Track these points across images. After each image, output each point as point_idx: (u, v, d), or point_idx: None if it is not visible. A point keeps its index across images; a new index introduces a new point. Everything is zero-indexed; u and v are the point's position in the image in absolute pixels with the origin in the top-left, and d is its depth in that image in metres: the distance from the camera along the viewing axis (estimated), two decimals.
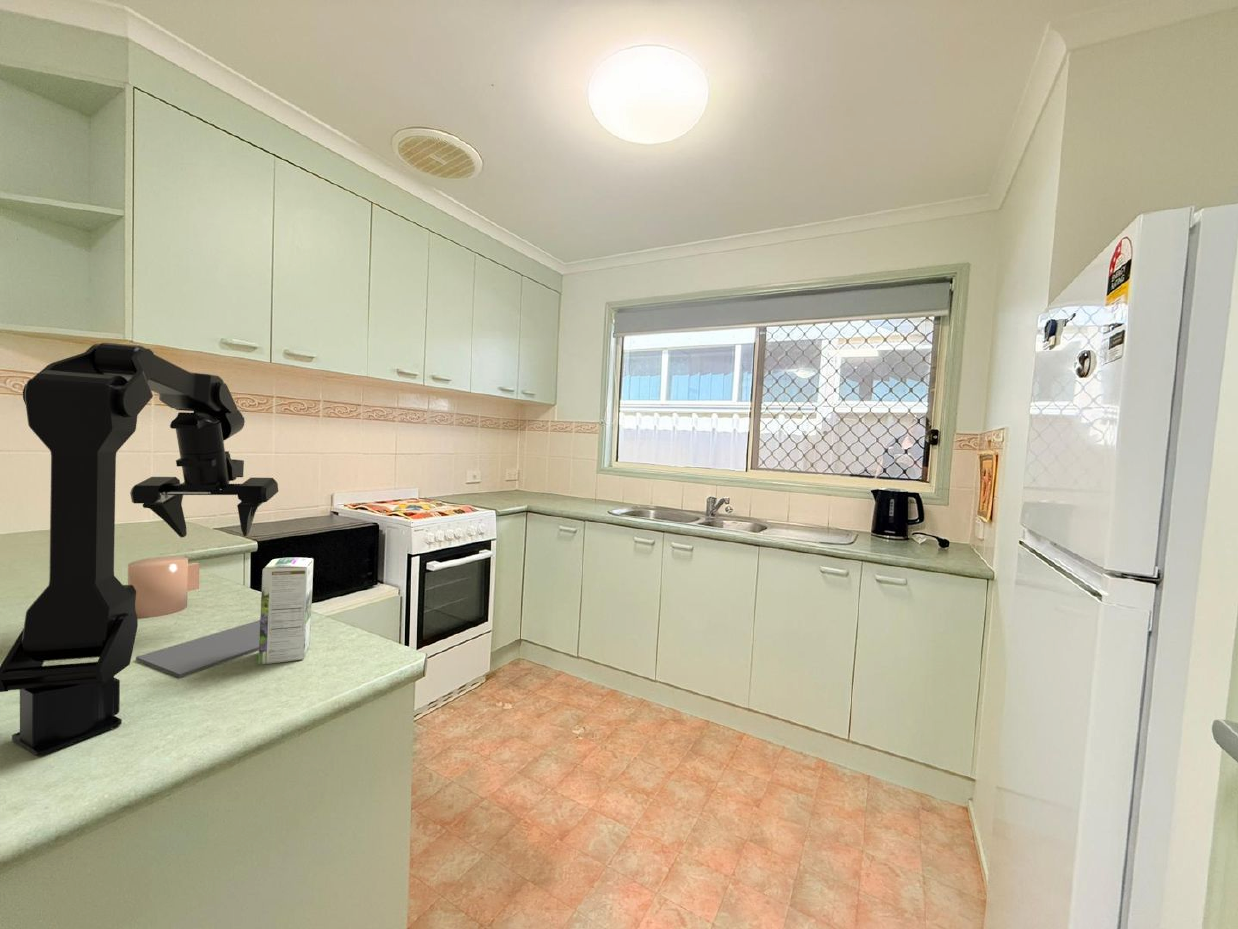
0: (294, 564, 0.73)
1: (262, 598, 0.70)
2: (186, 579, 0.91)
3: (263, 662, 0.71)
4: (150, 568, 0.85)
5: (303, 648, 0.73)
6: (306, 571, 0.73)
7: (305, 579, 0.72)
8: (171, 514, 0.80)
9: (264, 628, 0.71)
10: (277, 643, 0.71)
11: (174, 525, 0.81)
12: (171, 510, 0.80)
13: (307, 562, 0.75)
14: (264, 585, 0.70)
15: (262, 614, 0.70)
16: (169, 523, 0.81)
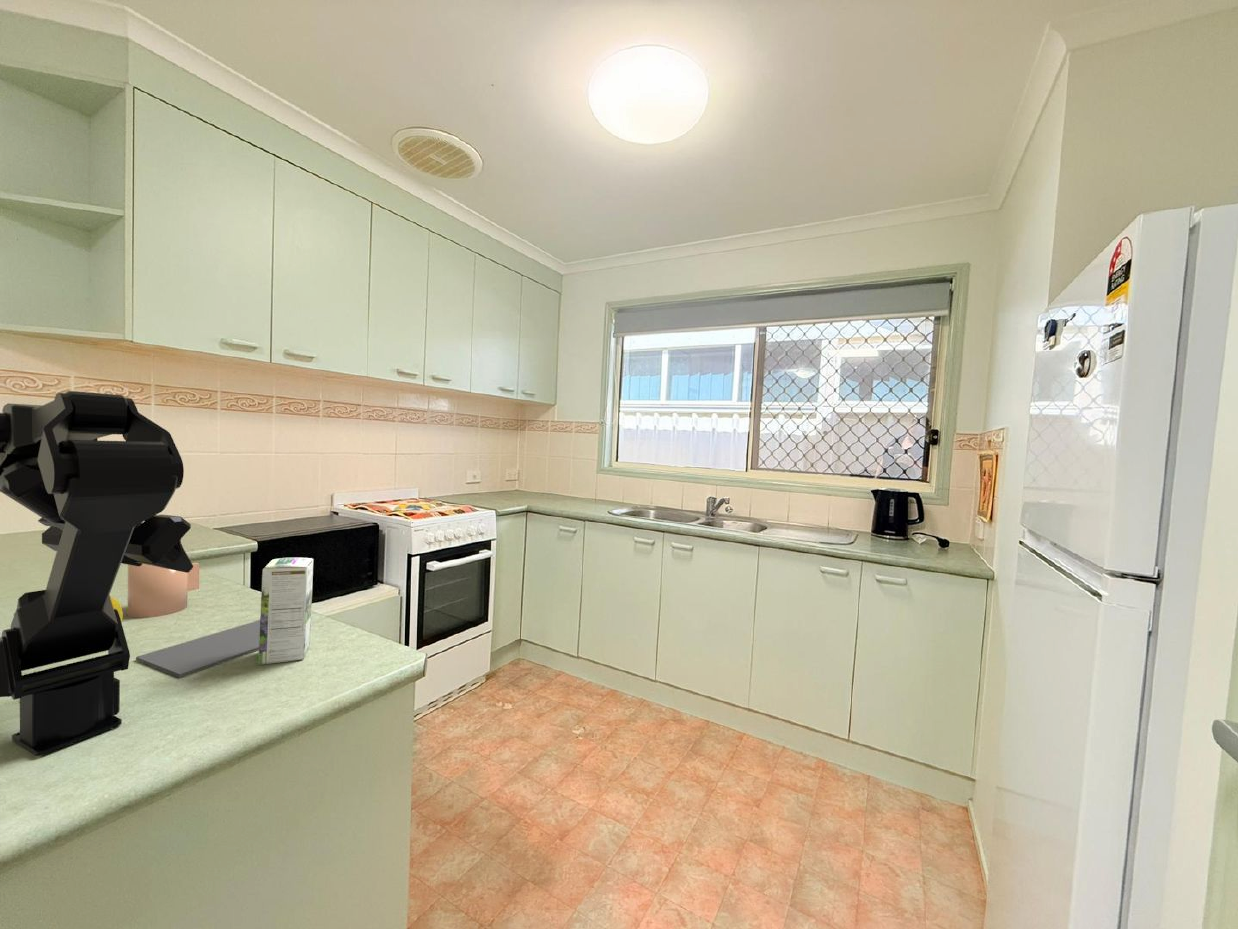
0: (294, 564, 0.73)
1: (262, 598, 0.70)
2: (186, 579, 0.91)
3: (263, 662, 0.71)
4: (150, 568, 0.85)
5: (303, 648, 0.73)
6: (306, 571, 0.73)
7: (305, 579, 0.72)
8: None
9: (264, 628, 0.71)
10: (277, 643, 0.71)
11: None
12: None
13: (307, 562, 0.75)
14: (264, 585, 0.70)
15: (262, 614, 0.70)
16: None
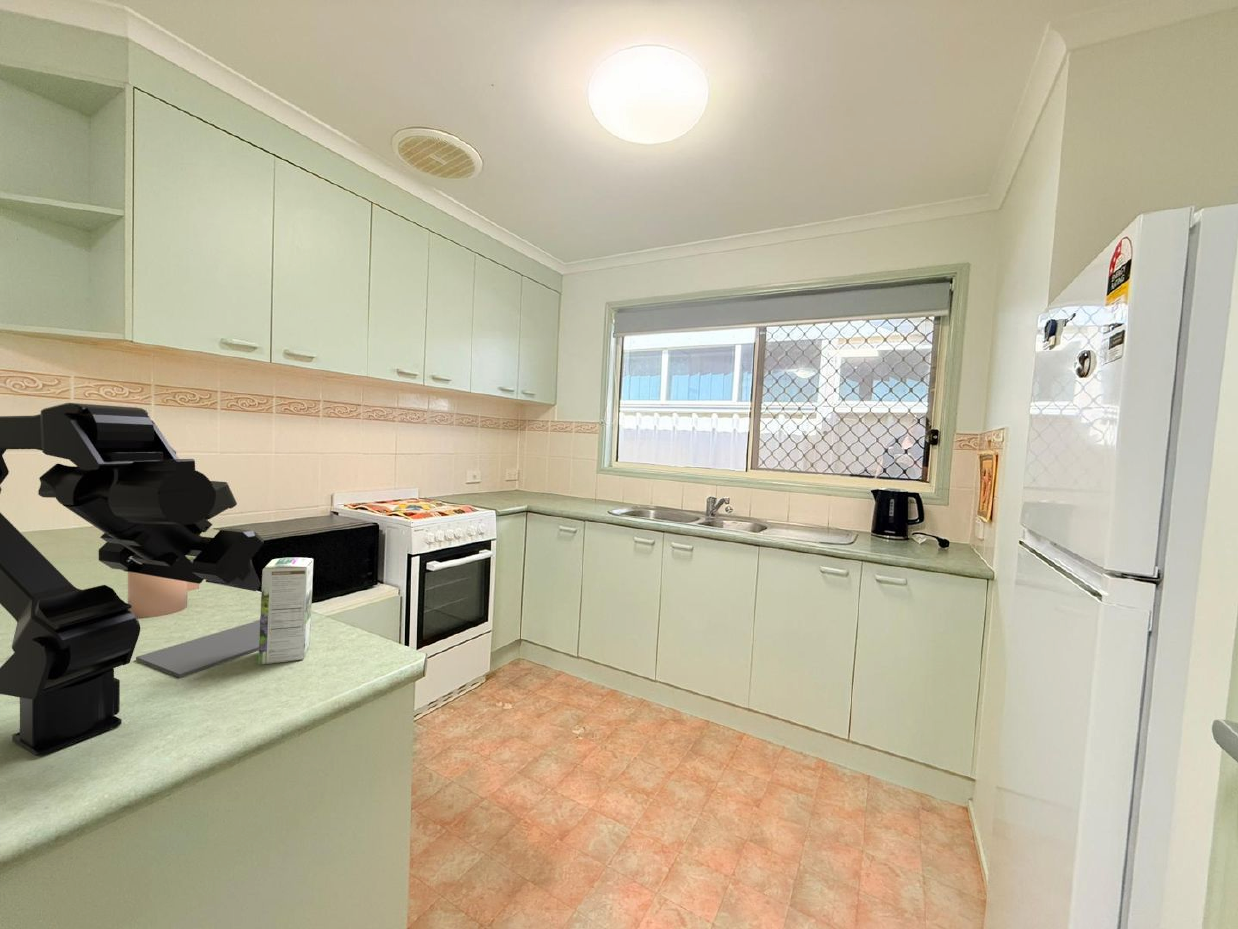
0: (294, 564, 0.73)
1: (262, 598, 0.70)
2: None
3: (263, 662, 0.71)
4: None
5: (303, 648, 0.73)
6: (306, 571, 0.73)
7: (305, 579, 0.72)
8: (162, 572, 0.61)
9: (264, 628, 0.71)
10: (277, 643, 0.71)
11: (177, 578, 0.63)
12: (160, 567, 0.61)
13: (307, 562, 0.75)
14: (264, 585, 0.70)
15: (262, 614, 0.70)
16: (169, 578, 0.63)
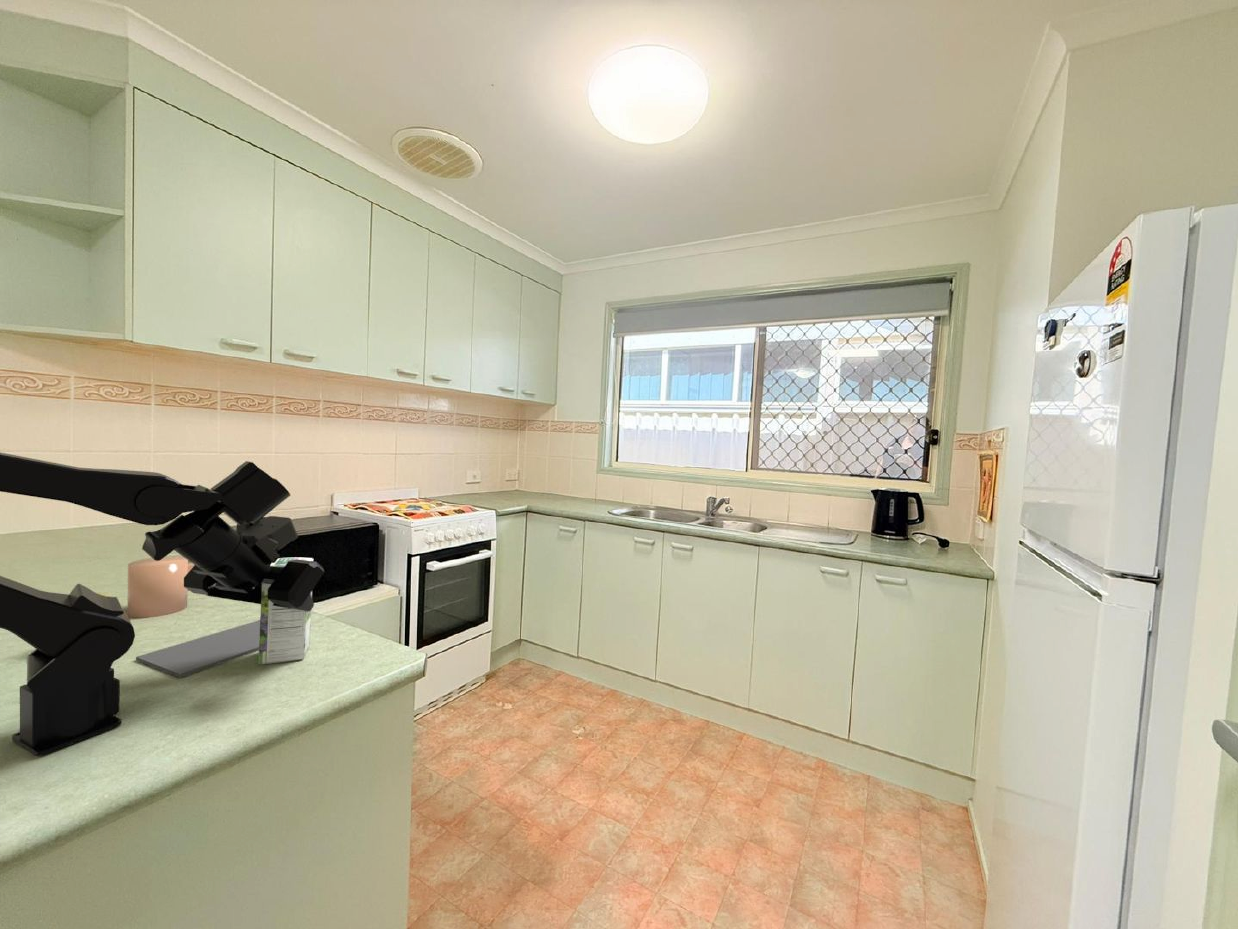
0: None
1: (262, 598, 0.70)
2: None
3: (263, 662, 0.71)
4: (150, 568, 0.85)
5: (303, 648, 0.73)
6: None
7: None
8: (238, 596, 0.71)
9: (264, 628, 0.71)
10: (277, 643, 0.71)
11: (249, 601, 0.72)
12: (236, 592, 0.70)
13: None
14: (264, 585, 0.70)
15: (262, 614, 0.70)
16: (243, 601, 0.72)
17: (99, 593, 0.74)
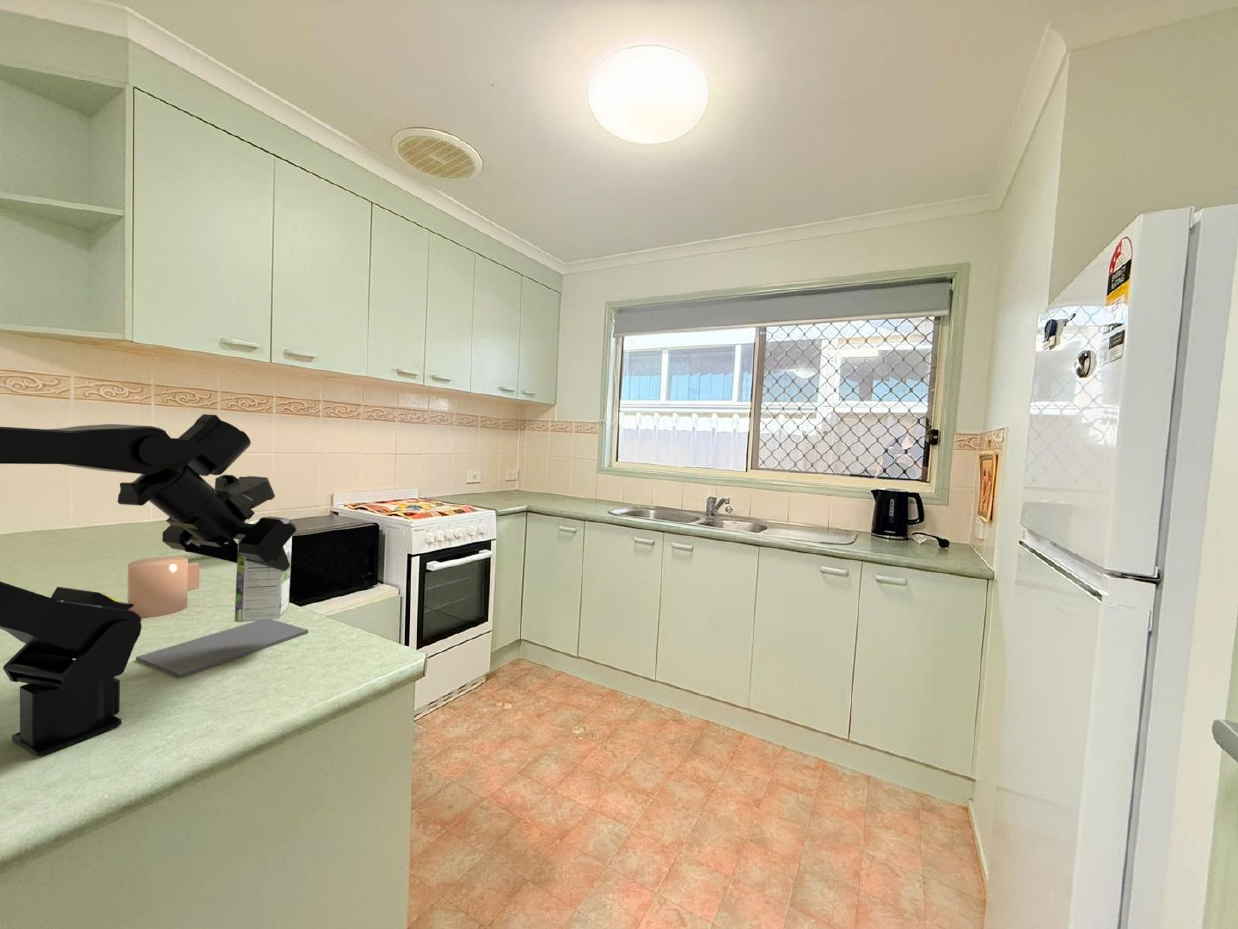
0: None
1: (238, 556, 0.71)
2: (186, 579, 0.91)
3: (239, 620, 0.72)
4: (150, 568, 0.85)
5: (279, 607, 0.74)
6: None
7: None
8: (216, 554, 0.72)
9: (240, 586, 0.72)
10: (252, 602, 0.72)
11: (227, 559, 0.74)
12: (214, 549, 0.72)
13: None
14: None
15: (238, 572, 0.72)
16: (221, 559, 0.73)
17: None
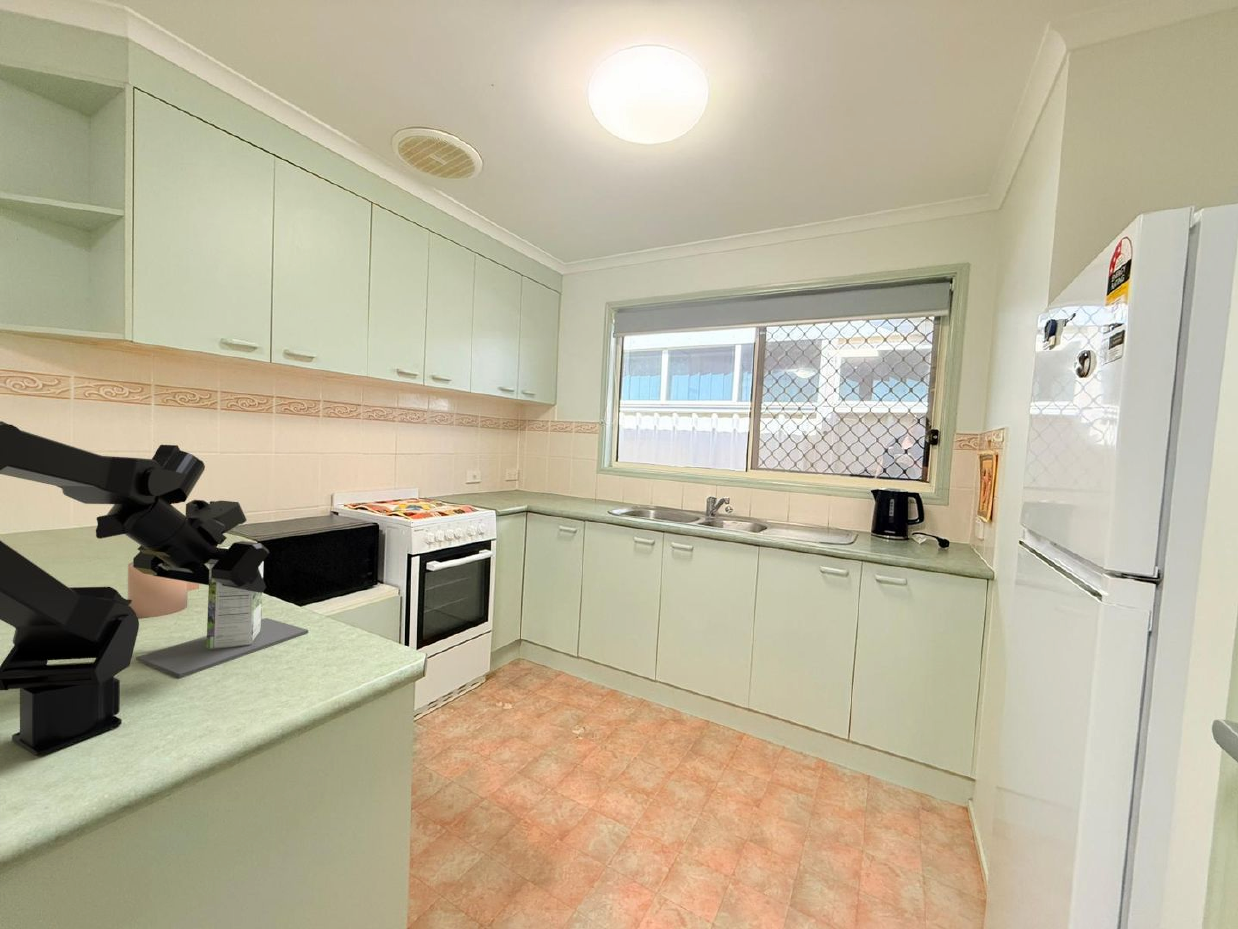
0: None
1: (209, 585, 0.73)
2: None
3: (211, 647, 0.74)
4: None
5: (251, 634, 0.76)
6: None
7: None
8: (184, 577, 0.74)
9: (212, 614, 0.73)
10: (224, 629, 0.74)
11: (196, 582, 0.76)
12: (182, 573, 0.74)
13: None
14: None
15: (209, 600, 0.73)
16: None
17: None
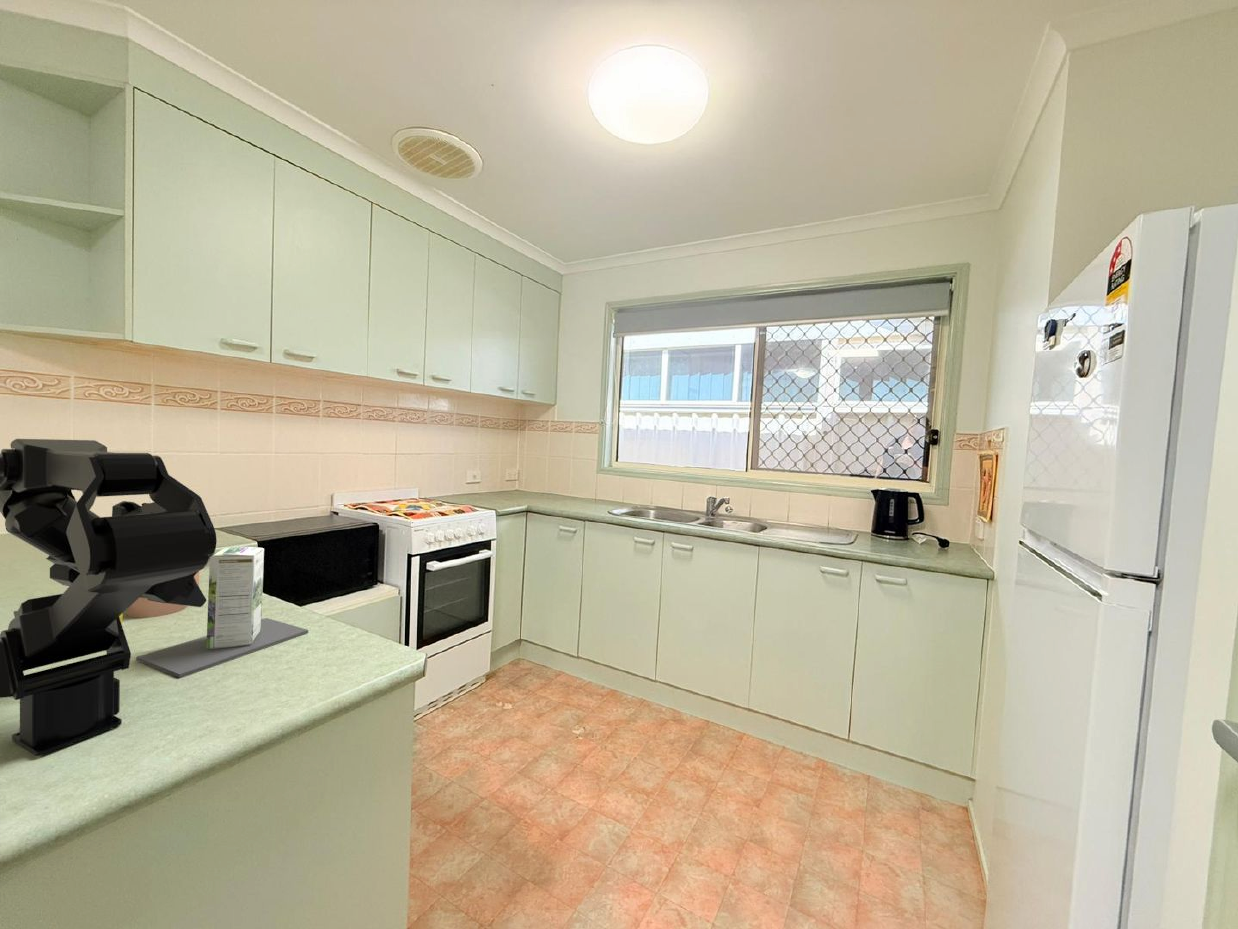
0: (242, 553, 0.75)
1: (209, 585, 0.73)
2: None
3: (211, 647, 0.74)
4: None
5: (251, 634, 0.76)
6: (253, 560, 0.75)
7: (252, 567, 0.75)
8: None
9: (212, 614, 0.73)
10: (224, 629, 0.74)
11: None
12: None
13: (256, 551, 0.77)
14: (211, 573, 0.73)
15: (210, 600, 0.73)
16: None
17: None
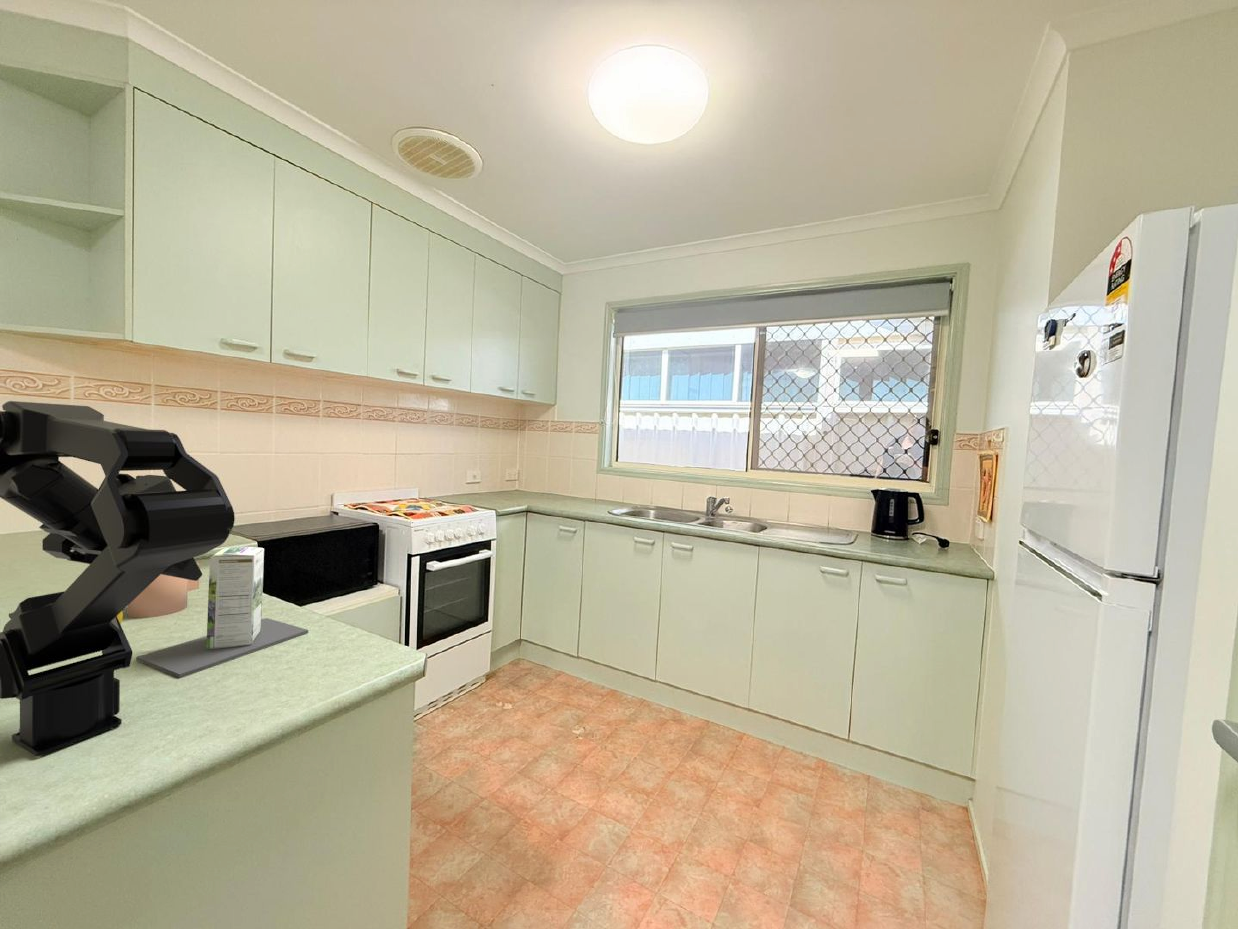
0: (242, 553, 0.75)
1: (209, 585, 0.73)
2: (186, 579, 0.91)
3: (211, 647, 0.74)
4: None
5: (251, 634, 0.76)
6: (253, 560, 0.75)
7: (252, 567, 0.75)
8: None
9: (212, 614, 0.73)
10: (224, 629, 0.74)
11: None
12: None
13: (256, 551, 0.77)
14: (211, 573, 0.73)
15: (210, 600, 0.73)
16: None
17: None
